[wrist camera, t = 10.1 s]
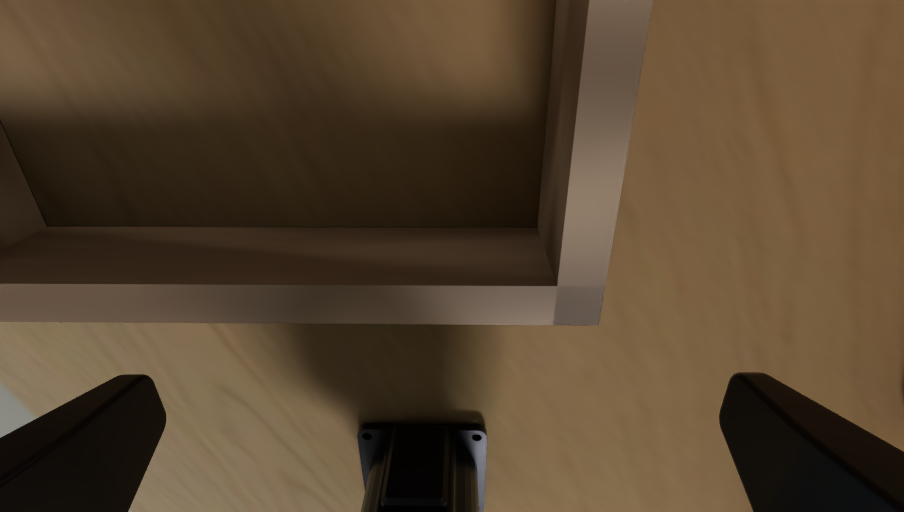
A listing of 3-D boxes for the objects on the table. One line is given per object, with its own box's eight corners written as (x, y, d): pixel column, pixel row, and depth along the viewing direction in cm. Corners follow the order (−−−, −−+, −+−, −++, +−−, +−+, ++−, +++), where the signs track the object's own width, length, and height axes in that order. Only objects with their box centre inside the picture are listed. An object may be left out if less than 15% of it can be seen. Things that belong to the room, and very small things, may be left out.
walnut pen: (570, 260, 19) (598, 325, 15) (26, 258, 20) (-82, 320, 16) (636, -264, 12) (718, -394, 8) (-217, -245, 13) (-524, -359, 9)
